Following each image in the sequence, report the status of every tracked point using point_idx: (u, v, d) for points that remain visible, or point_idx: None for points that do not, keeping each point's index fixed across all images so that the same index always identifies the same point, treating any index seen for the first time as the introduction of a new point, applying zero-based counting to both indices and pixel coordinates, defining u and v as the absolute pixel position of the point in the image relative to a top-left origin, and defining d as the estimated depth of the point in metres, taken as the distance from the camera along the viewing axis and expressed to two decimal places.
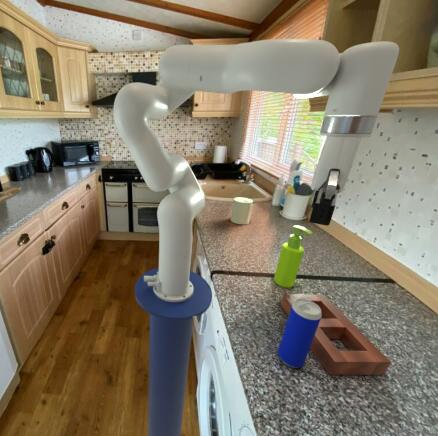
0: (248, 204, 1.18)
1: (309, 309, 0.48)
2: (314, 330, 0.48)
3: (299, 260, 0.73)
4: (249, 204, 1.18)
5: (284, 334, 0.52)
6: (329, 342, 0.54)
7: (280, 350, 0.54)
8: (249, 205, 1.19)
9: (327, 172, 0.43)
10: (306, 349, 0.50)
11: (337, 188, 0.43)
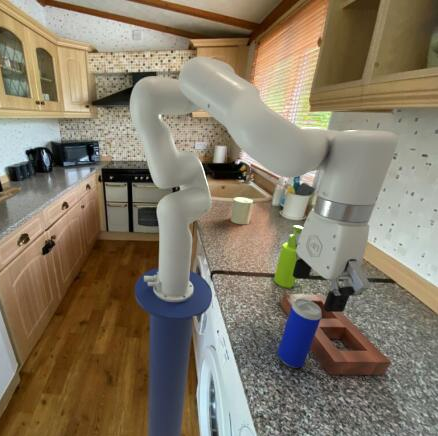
0: (248, 204, 1.18)
1: (309, 309, 0.48)
2: (314, 330, 0.48)
3: None
4: (249, 204, 1.18)
5: (284, 334, 0.52)
6: (329, 342, 0.54)
7: (280, 350, 0.54)
8: (249, 205, 1.19)
9: (345, 263, 0.38)
10: (306, 349, 0.50)
11: (349, 275, 0.40)
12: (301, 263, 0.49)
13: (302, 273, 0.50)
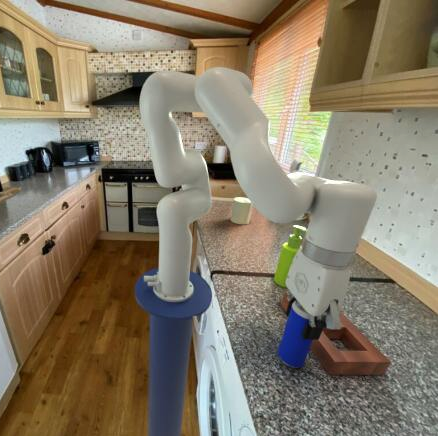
0: (248, 204, 1.18)
1: None
2: None
3: None
4: (249, 204, 1.18)
5: (284, 334, 0.52)
6: (329, 342, 0.54)
7: (280, 350, 0.54)
8: (249, 205, 1.19)
9: (328, 303, 0.42)
10: (306, 349, 0.50)
11: None
12: None
13: None
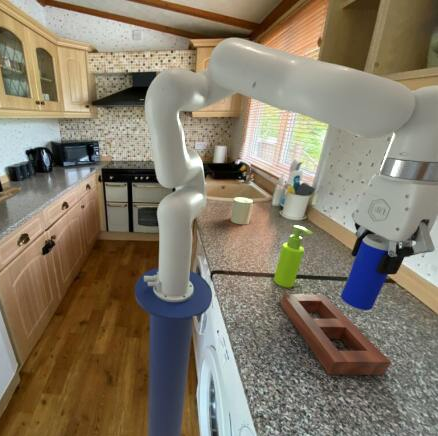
0: (248, 204, 1.18)
1: (385, 242, 0.44)
2: None
3: (299, 260, 0.73)
4: (249, 204, 1.18)
5: (351, 275, 0.48)
6: (329, 342, 0.54)
7: (345, 293, 0.50)
8: (249, 205, 1.19)
9: (417, 223, 0.38)
10: (379, 288, 0.46)
11: (411, 239, 0.41)
12: None
13: None
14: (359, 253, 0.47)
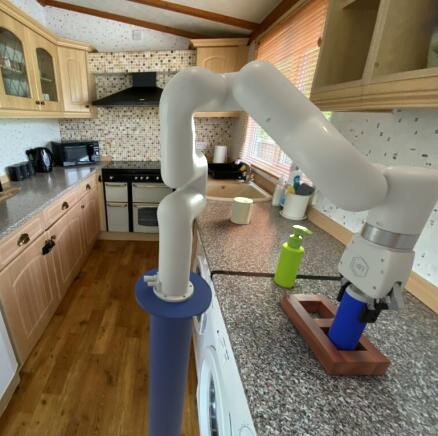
0: (248, 204, 1.18)
1: None
2: None
3: (299, 260, 0.73)
4: (249, 204, 1.18)
5: (336, 319, 0.53)
6: (329, 342, 0.54)
7: (331, 335, 0.55)
8: (249, 205, 1.19)
9: (391, 285, 0.43)
10: (360, 333, 0.51)
11: (387, 294, 0.46)
12: None
13: None
14: (343, 301, 0.52)
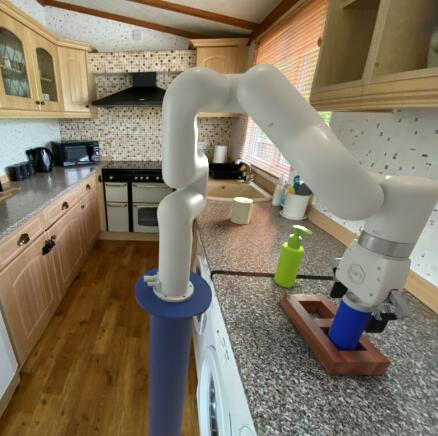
0: (248, 204, 1.18)
1: (361, 302, 0.50)
2: (366, 322, 0.50)
3: (299, 260, 0.73)
4: (249, 204, 1.18)
5: (333, 327, 0.54)
6: (329, 342, 0.54)
7: None
8: (249, 205, 1.19)
9: (388, 292, 0.43)
10: (356, 341, 0.52)
11: (390, 301, 0.45)
12: (339, 286, 0.55)
13: (339, 294, 0.55)
14: (339, 309, 0.52)
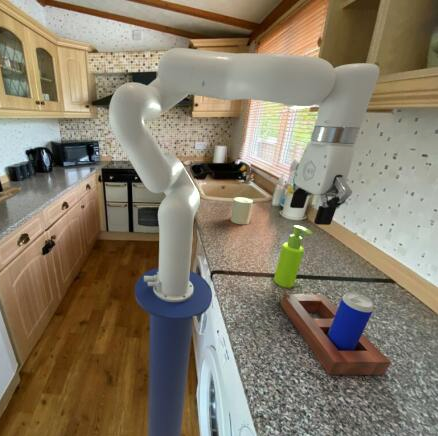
0: (248, 204, 1.18)
1: (361, 302, 0.50)
2: (366, 322, 0.50)
3: (299, 260, 0.73)
4: (249, 204, 1.18)
5: (333, 327, 0.54)
6: (329, 342, 0.54)
7: None
8: (249, 205, 1.19)
9: (333, 178, 0.47)
10: (356, 341, 0.52)
11: (336, 191, 0.49)
12: (298, 194, 0.58)
13: (298, 203, 0.59)
14: (339, 309, 0.52)
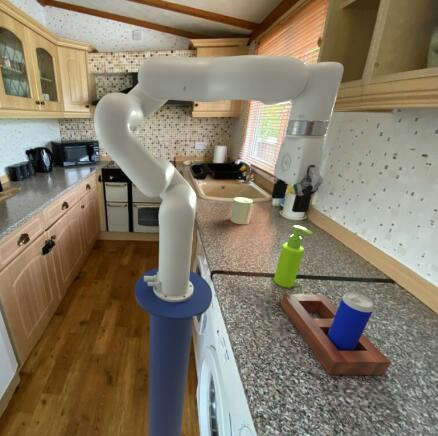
0: (248, 204, 1.18)
1: (361, 302, 0.50)
2: (366, 322, 0.50)
3: (299, 260, 0.73)
4: (249, 204, 1.18)
5: (333, 327, 0.54)
6: (329, 342, 0.54)
7: None
8: (249, 205, 1.19)
9: (306, 168, 0.51)
10: (356, 341, 0.52)
11: (311, 180, 0.52)
12: (278, 185, 0.62)
13: (279, 194, 0.63)
14: (339, 309, 0.52)
